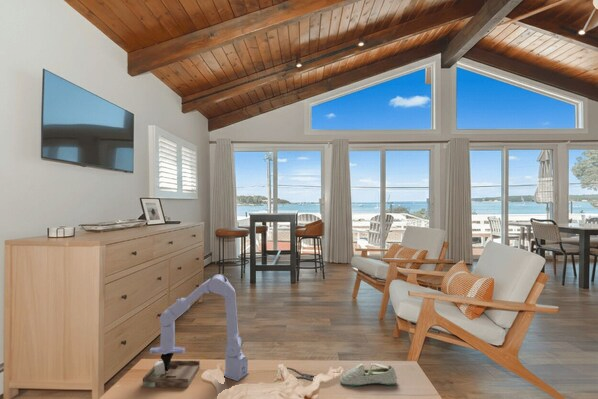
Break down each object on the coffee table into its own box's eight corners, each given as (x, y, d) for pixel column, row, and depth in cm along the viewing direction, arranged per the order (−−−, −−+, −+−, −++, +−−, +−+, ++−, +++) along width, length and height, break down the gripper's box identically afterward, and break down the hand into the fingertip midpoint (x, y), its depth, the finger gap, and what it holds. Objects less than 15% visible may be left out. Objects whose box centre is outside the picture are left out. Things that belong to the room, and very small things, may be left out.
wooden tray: (199, 368, 150) (199, 360, 150) (188, 387, 134) (188, 378, 134) (158, 368, 150) (159, 360, 150) (142, 387, 134) (142, 378, 134)
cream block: (167, 369, 144) (166, 360, 144) (164, 374, 140) (163, 364, 140) (158, 370, 144) (157, 361, 144) (154, 375, 140) (154, 365, 140)
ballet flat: (337, 377, 144) (338, 358, 144) (392, 376, 145) (392, 358, 145) (341, 388, 135) (341, 368, 135) (399, 387, 136) (399, 367, 136)
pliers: (279, 366, 152) (322, 369, 149) (279, 368, 152) (322, 371, 149) (274, 377, 142) (320, 380, 139) (274, 379, 142) (320, 382, 139)
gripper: (146, 342, 139) (146, 374, 138) (181, 342, 139) (180, 374, 138) (153, 335, 146) (153, 366, 145) (186, 335, 146) (186, 366, 145)
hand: (167, 370), depth 142 cm, fingers closed, pressing on cream block
